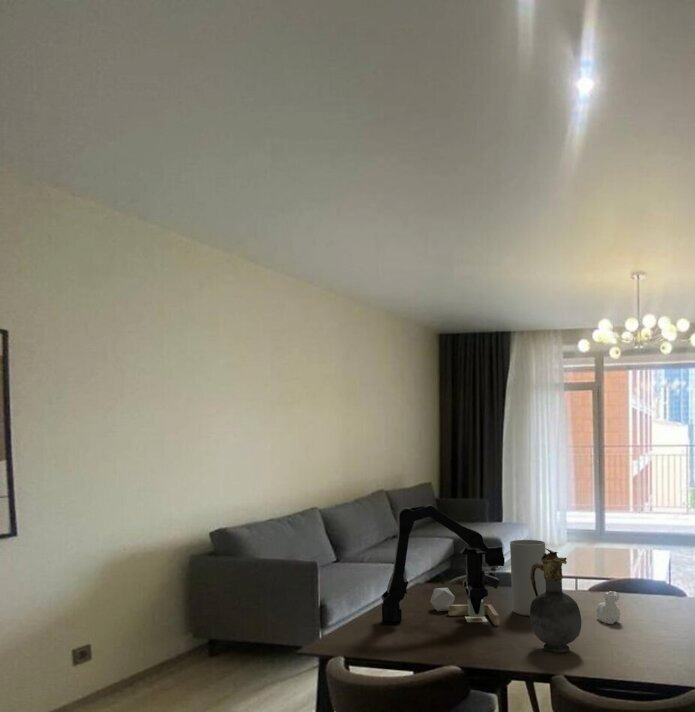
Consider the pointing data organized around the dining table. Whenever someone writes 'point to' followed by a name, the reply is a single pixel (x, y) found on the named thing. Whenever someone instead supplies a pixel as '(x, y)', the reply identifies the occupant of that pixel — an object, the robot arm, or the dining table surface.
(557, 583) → the pitcher
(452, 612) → the wooden corner guide
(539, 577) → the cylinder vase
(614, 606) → the white figurine
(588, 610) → the dining table surface
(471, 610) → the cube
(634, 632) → the dining table surface
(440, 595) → the die
